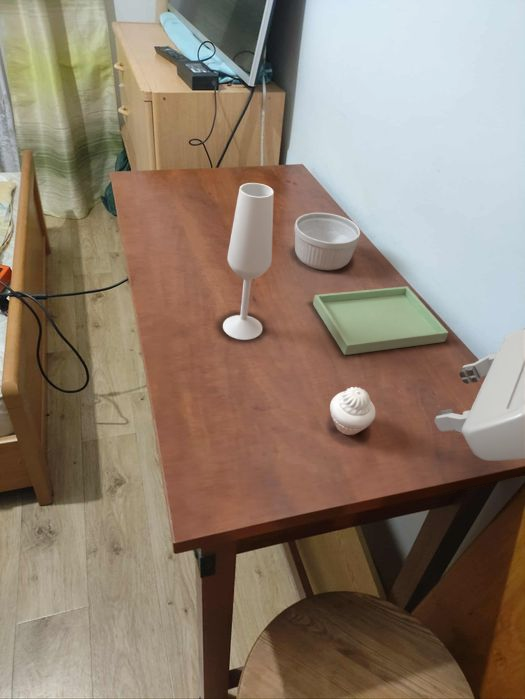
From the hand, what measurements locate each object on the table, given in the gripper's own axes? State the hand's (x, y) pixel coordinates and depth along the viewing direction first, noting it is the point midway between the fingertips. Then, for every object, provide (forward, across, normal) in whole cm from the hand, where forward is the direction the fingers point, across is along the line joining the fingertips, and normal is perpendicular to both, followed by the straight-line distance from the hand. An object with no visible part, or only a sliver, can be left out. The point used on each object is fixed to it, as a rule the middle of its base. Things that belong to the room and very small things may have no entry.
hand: (451, 397), depth 59 cm
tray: (+21, -26, -3) cm, 33 cm away
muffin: (+17, 0, +2) cm, 17 cm away
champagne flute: (+34, -9, -15) cm, 38 cm away
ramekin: (+34, -39, -16) cm, 54 cm away
